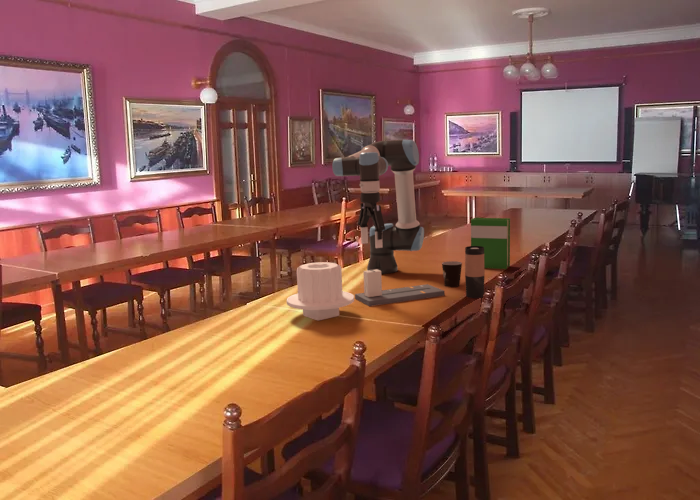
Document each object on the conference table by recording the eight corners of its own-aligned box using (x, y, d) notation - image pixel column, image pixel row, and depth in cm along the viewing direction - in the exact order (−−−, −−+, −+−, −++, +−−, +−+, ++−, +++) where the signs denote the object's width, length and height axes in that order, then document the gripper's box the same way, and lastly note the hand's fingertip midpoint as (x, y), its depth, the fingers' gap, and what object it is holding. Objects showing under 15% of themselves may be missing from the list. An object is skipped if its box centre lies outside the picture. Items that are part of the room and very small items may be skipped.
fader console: (355, 298, 255) (354, 293, 254) (427, 288, 267) (427, 283, 267) (369, 306, 242) (368, 300, 241) (444, 295, 255) (444, 290, 254)
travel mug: (485, 294, 254) (485, 246, 251) (483, 298, 247) (483, 249, 244) (466, 293, 257) (466, 245, 253) (463, 297, 250) (463, 248, 246)
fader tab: (364, 295, 250) (363, 270, 249) (377, 293, 253) (376, 268, 251) (368, 297, 247) (367, 272, 245) (382, 295, 249) (381, 270, 247)
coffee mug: (461, 287, 267) (461, 265, 265) (441, 287, 268) (441, 265, 267) (462, 281, 278) (462, 260, 276) (443, 281, 280) (442, 260, 278)
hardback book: (509, 266, 308) (510, 218, 304) (506, 269, 302) (507, 220, 298) (474, 264, 316) (474, 217, 312) (471, 267, 309) (470, 219, 305)
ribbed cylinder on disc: (275, 315, 234) (272, 266, 231) (329, 303, 248) (326, 257, 245) (312, 329, 214) (309, 275, 211) (368, 315, 229) (366, 265, 226)
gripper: (348, 191, 253) (350, 242, 256) (374, 194, 230) (376, 250, 233) (365, 189, 256) (367, 240, 259) (392, 193, 233) (394, 248, 236)
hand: (371, 245), depth 246 cm, fingers open, 13 cm apart
